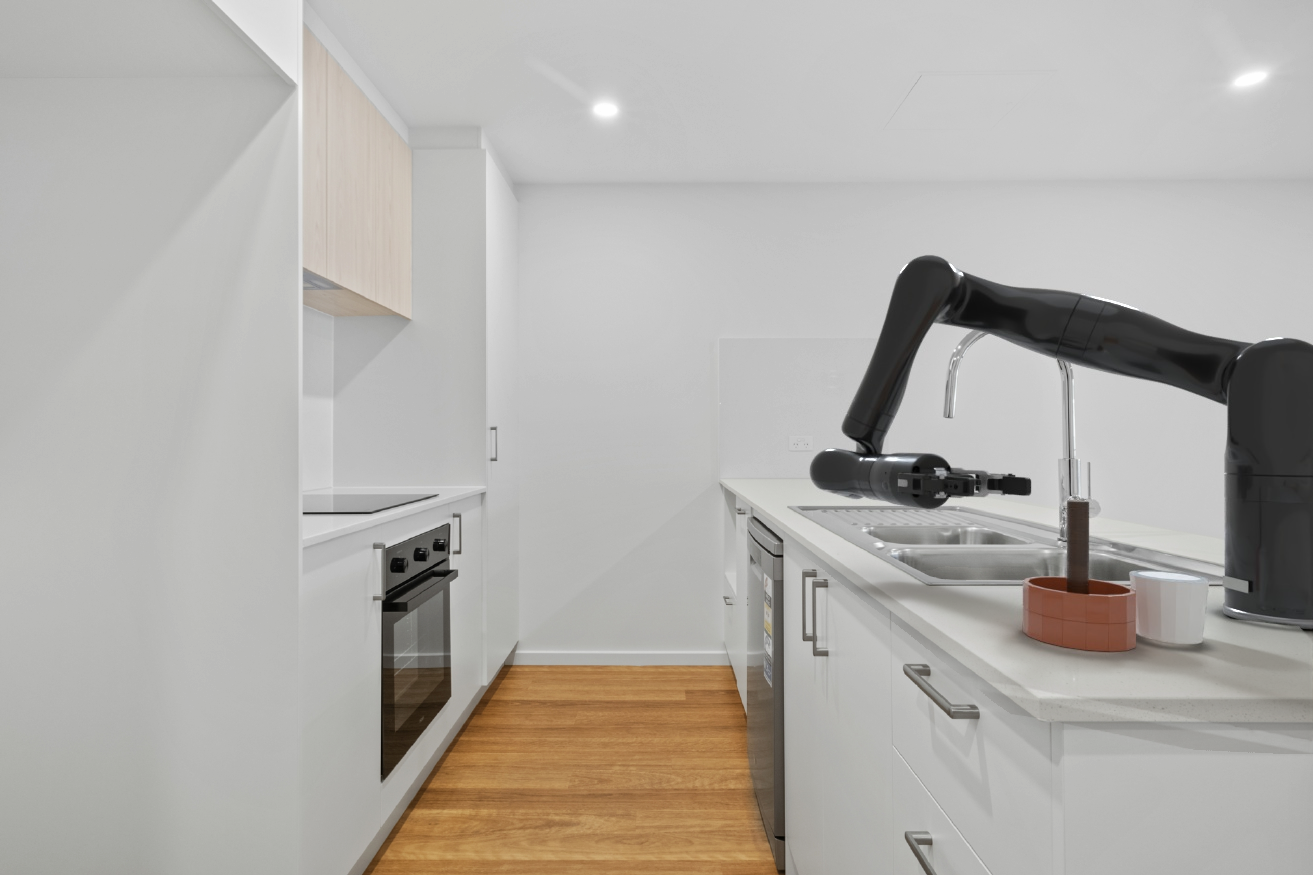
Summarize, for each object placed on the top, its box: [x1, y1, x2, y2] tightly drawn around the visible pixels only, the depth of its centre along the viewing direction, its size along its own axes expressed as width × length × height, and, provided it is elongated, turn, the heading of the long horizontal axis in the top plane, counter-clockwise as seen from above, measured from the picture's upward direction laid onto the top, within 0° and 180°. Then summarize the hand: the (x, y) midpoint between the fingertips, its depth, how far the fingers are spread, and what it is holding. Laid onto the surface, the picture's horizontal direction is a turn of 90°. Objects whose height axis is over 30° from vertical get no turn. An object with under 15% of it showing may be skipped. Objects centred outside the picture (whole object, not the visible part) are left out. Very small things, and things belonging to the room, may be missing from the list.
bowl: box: [1022, 575, 1137, 653], centre depth 72 cm, size 10×10×6 cm
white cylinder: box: [1128, 569, 1210, 645], centre depth 73 cm, size 7×7×7 cm
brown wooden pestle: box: [1066, 499, 1090, 594], centre depth 72 cm, size 3×3×14 cm
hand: (1001, 487), depth 82 cm, fingers open, 8 cm apart
